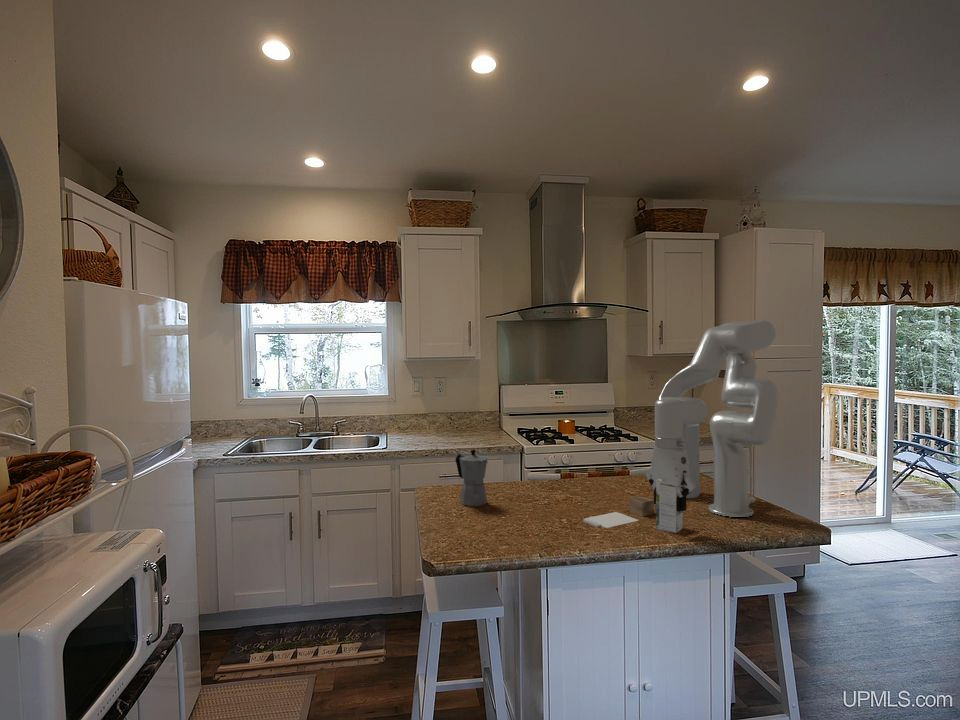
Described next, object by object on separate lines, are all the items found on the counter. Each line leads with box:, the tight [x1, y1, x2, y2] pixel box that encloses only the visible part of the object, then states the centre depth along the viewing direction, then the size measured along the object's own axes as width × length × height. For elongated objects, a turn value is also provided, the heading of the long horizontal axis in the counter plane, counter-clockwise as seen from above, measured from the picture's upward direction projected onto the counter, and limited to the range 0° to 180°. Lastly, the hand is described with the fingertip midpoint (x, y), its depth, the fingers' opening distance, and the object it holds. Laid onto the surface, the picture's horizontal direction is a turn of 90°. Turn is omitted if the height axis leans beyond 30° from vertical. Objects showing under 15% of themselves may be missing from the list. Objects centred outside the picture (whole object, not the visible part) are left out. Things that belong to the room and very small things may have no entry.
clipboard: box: [582, 511, 640, 529], centre depth 148 cm, size 16×12×1 cm
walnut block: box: [629, 496, 655, 517], centre depth 154 cm, size 5×5×5 cm
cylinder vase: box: [683, 424, 701, 500], centre depth 178 cm, size 12×12×25 cm
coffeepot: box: [455, 448, 489, 507], centre depth 171 cm, size 15×9×18 cm, turn 44°
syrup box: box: [655, 480, 684, 534], centre depth 140 cm, size 6×6×14 cm
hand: (669, 506), depth 140 cm, fingers closed on syrup box, 7 cm apart
